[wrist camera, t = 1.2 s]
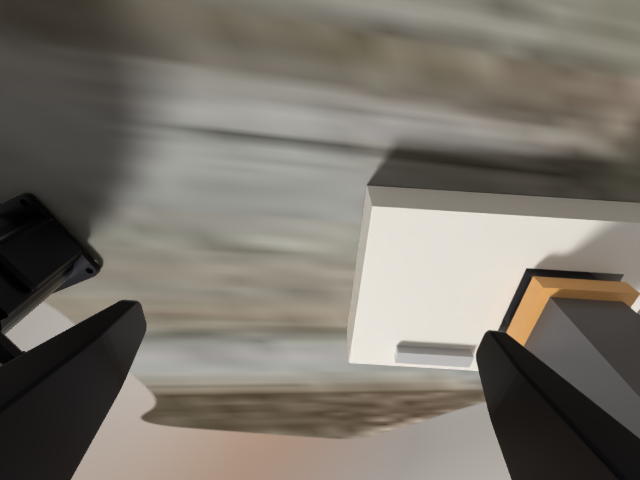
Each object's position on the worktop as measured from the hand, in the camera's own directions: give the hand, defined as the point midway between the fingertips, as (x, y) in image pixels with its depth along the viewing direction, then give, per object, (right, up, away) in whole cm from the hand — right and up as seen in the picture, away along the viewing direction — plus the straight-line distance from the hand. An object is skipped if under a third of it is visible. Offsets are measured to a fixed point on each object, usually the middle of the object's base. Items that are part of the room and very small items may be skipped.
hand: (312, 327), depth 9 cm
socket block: (+11, 0, +14) cm, 18 cm away
